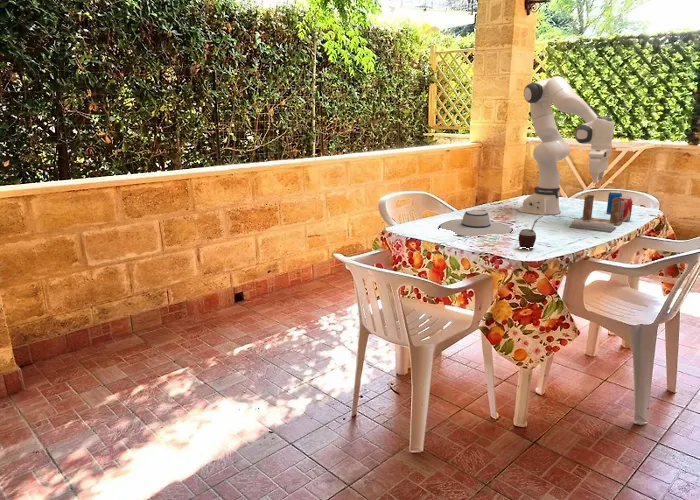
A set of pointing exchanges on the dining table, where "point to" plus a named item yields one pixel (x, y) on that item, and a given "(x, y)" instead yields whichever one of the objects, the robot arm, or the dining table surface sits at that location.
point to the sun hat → (475, 225)
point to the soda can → (625, 209)
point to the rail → (593, 224)
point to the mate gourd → (527, 237)
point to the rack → (588, 216)
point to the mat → (592, 228)
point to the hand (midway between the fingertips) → (597, 181)
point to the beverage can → (611, 197)
